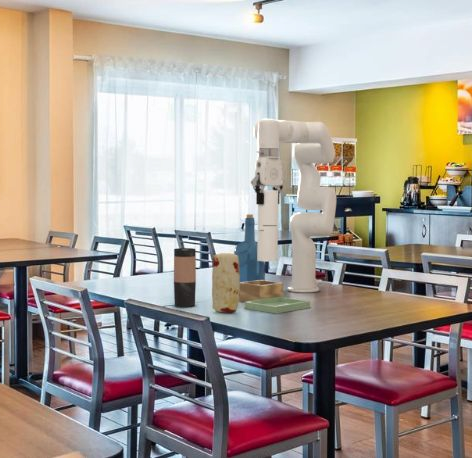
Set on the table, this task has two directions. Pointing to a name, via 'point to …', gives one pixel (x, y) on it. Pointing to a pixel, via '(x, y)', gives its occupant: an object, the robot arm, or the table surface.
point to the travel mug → (184, 277)
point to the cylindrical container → (268, 227)
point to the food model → (225, 282)
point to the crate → (259, 290)
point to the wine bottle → (249, 255)
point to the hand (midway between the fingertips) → (267, 203)
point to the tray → (277, 305)
